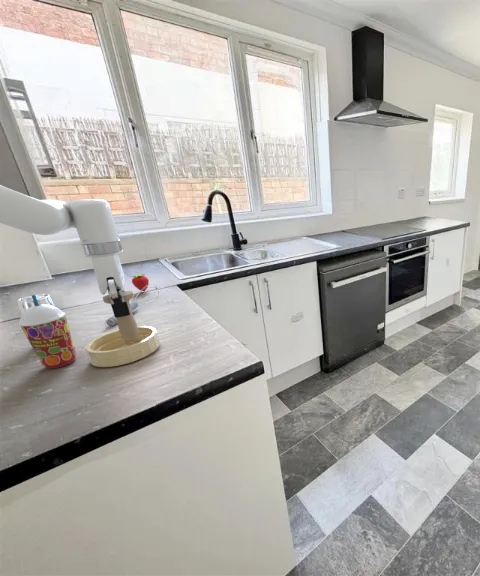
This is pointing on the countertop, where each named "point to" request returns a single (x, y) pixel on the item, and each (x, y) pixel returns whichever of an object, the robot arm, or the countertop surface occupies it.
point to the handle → (126, 322)
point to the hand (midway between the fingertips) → (123, 312)
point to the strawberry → (140, 282)
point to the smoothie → (48, 334)
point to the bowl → (121, 348)
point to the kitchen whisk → (133, 306)
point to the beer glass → (28, 301)
